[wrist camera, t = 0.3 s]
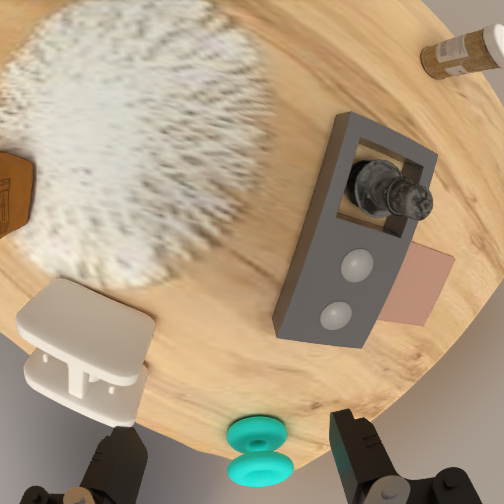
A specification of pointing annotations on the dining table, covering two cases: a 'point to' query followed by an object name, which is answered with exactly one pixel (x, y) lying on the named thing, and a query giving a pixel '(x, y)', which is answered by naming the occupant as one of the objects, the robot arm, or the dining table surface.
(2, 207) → the coffee package
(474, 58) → the sprinkles bottle
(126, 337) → the cable organizer
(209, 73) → the dining table surface
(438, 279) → the tile pad
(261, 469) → the donuts
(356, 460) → the robot arm
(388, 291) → the socket strip
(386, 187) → the dark chess piece
